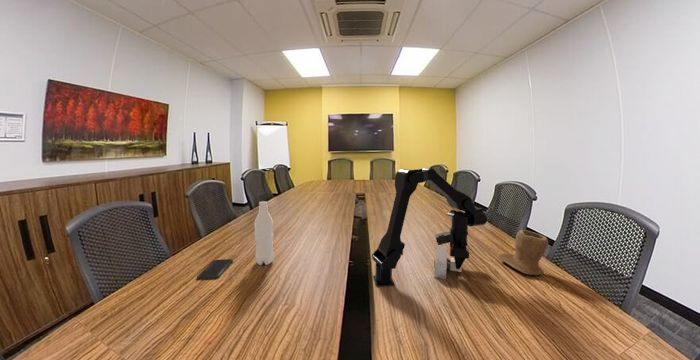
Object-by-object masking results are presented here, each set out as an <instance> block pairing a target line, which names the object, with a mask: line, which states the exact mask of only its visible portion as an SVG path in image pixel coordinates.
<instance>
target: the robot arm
mask: <svg viewBox="0 0 700 360" xmlns="http://www.w3.org/2000/svg"><path fill="white" fill-rule="evenodd" d="M425 182H427V183H428V184H430V185H431V186H432V187H433V188H434V189H435V190H437V192H439V193H441V194H442V196H443V197H444V198H445V199H446V203H448V205H449V206H450V207H451V208H452V209H451V210H450V211H449V212H447V213H446V216H447V217H451V226H450V229H449V230H450V231H444V232H441V233H437V234H435V242H436V243H437V246H443V244H448V243H449V256H450V257H451V258H455V264H456V269H460V267H461V266H462V267H463V264H464V262H465V260H466V259H469V258H470V250H469V249H468V248H467V247H468V235H469V231H468V230H469V229H468V228H469V227H478V226H484V225H486V224H487V222H488V221H487V220H488V218H487V214H486V213H485V212H484V208H481V207H475V205H474V203H473V198H471V197H470V195H468V194H466V193H464V192H462V191H459V190H458V189H456V188H455V187H453V185H451V184H450V183H449V182H448V181H447V180H446V179H445V178H443V177H442V176H441V175H440V174H439V173H438V172H437V170H435V169H434V168H430V167H423V168H418V169H409V168H408V169H407V168H401V169H399V170H398V171H396V173H395V176H394V188H395V197H394V201H393V204H392V205H393V206H392V210H391V213H390V218H389V222H388V227H387V229H386V233H385V234H384V235H383V236H382V238H381V239H380V242H379V244H378V247H377V248H376V249H375V251H374V252H373V253H372V254H371V258H372V261H374V262H375V275H372V279H373V281H374V284H375V286H377V287H380V286H383V287H385V286H387V287H388V286H395V285H396V283H395V282H394V279H393V269H396V268H397V265H398V262H399V260H401V257H402V256H403V255H404V249H405V245H406V243H405V242H403V241H402V240H401V236H402V232H403V226H404V224H405V218H406V214H407V211H408V207H409V202H410V199H411V196H412V195H413V193H415V191H416V190H417V187H418V185H419V184H421V183H425ZM454 209H456V210H454Z"/></svg>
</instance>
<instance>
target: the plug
mask: <svg viewBox="0 0 700 360" xmlns="http://www.w3.org/2000/svg"><path fill="white" fill-rule="evenodd" d="M433 258H434V259H433V268H435V258H436V256H435V257H433ZM462 268H463V265H462V266H461V267H460V269H456V264H455V258H454V257H450V261H447V269H446V270H450V271H453V272H459V273H462V270H463V269H462Z"/></svg>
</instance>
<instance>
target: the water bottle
mask: <svg viewBox="0 0 700 360" xmlns="http://www.w3.org/2000/svg"><path fill="white" fill-rule="evenodd" d="M268 208H269V207H268V201H265V200H263V201H259V202H258V209H259V210H258V212H257V215H256V217H255V219H254V221H253V222H254V223H253V224H254V241H255V254H254V255H255V256H254V257H255V262H256V263H257V265H258V266H262V265H265V266H269V265H270V264H271V263H272V262H273V261H274V259H275V252H274V249H273V248H274V246H273V241H274V236H275V235H274V219H273V218H272V215H271V214H270V212H269V209H268Z"/></svg>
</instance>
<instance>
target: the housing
mask: <svg viewBox="0 0 700 360" xmlns="http://www.w3.org/2000/svg"><path fill="white" fill-rule="evenodd" d="M447 256H448V246H445V245H436V253H435V257H436V258H435V257H434V258H435V267H434V273H433V275H434V279H436V278H437V279H440V280H441V279H442V280H447V270H448V269H447V262H448V257H447Z"/></svg>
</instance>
